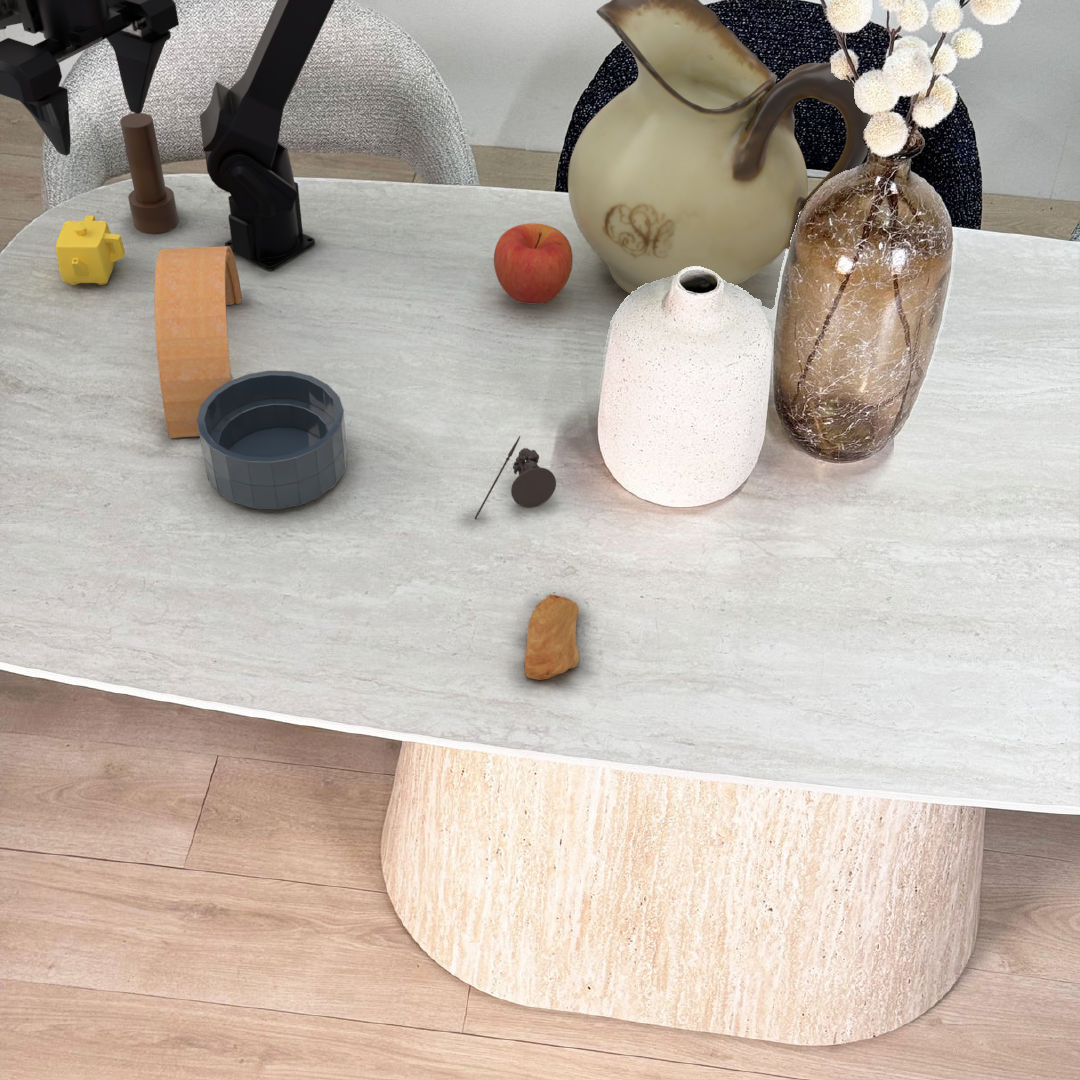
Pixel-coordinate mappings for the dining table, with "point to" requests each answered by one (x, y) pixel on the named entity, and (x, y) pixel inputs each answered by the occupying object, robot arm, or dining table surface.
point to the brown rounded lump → (552, 638)
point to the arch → (192, 329)
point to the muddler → (147, 177)
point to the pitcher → (697, 150)
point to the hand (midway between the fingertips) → (101, 132)
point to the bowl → (273, 439)
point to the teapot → (87, 251)
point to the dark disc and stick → (528, 480)
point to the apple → (533, 262)
